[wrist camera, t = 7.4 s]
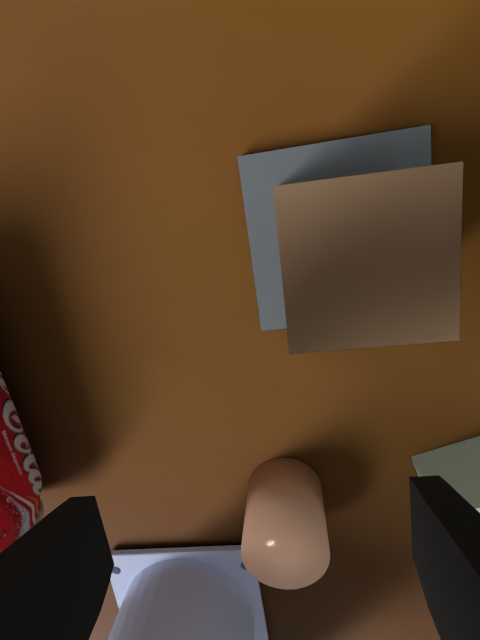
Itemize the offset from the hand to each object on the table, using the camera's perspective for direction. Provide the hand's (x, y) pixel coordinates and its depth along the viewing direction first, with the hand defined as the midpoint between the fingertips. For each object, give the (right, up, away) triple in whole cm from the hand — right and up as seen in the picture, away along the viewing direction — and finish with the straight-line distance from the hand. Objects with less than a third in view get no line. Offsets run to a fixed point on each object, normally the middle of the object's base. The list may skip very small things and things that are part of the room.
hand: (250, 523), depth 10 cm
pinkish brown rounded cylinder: (+2, -4, +11) cm, 12 cm away
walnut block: (+4, +8, +7) cm, 11 cm away
